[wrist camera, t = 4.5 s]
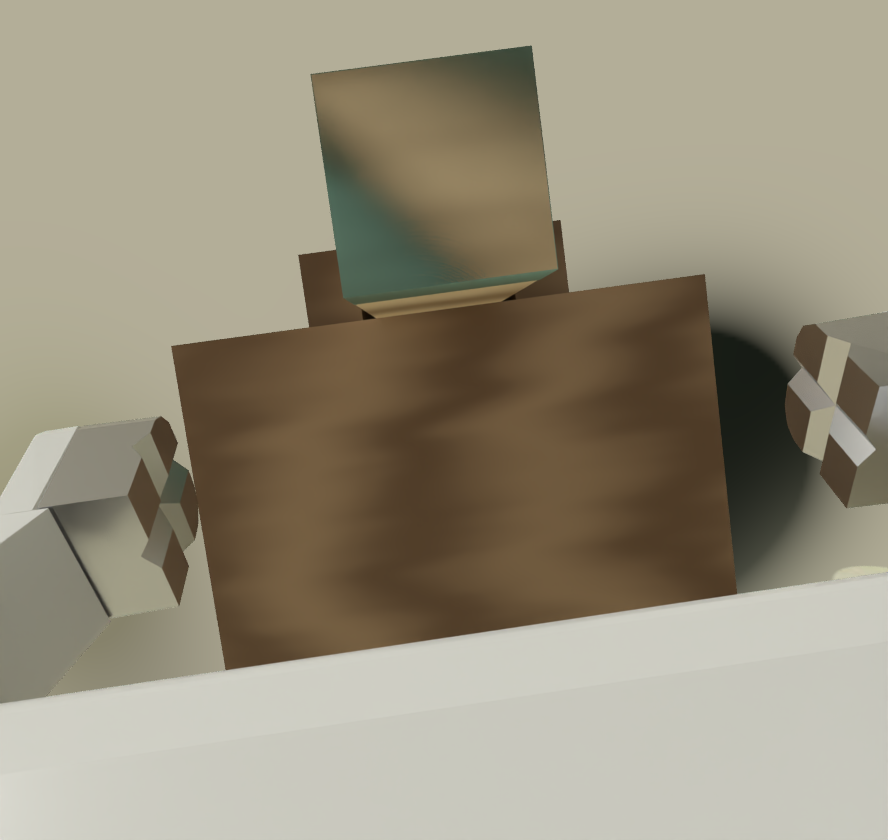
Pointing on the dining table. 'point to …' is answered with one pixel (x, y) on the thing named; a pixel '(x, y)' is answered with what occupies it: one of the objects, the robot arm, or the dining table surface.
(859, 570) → the dining table surface
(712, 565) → the walnut mount
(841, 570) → the dining table surface
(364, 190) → the oak bar
